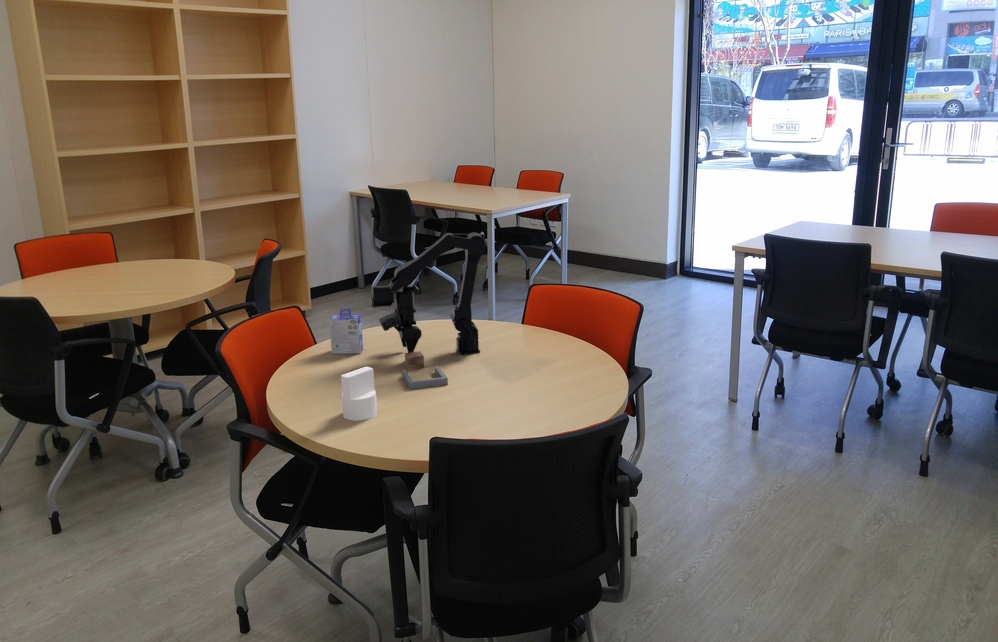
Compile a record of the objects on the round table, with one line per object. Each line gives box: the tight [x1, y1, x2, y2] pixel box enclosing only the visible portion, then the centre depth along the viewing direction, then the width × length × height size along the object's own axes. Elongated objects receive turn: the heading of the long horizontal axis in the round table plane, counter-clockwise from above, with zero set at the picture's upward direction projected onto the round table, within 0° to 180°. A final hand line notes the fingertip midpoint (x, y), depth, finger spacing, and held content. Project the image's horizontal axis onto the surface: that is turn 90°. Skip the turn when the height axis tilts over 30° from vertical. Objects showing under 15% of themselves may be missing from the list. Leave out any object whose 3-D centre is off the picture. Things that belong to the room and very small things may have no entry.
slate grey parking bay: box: [401, 365, 449, 390], centre depth 226 cm, size 11×11×2 cm
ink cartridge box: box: [328, 308, 364, 355], centre depth 252 cm, size 10×6×14 cm, turn 89°
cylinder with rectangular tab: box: [340, 366, 378, 422], centre depth 202 cm, size 9×9×12 cm
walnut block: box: [404, 350, 425, 370], centre depth 239 cm, size 5×5×4 cm
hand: (407, 351), depth 248 cm, fingers open, 9 cm apart
